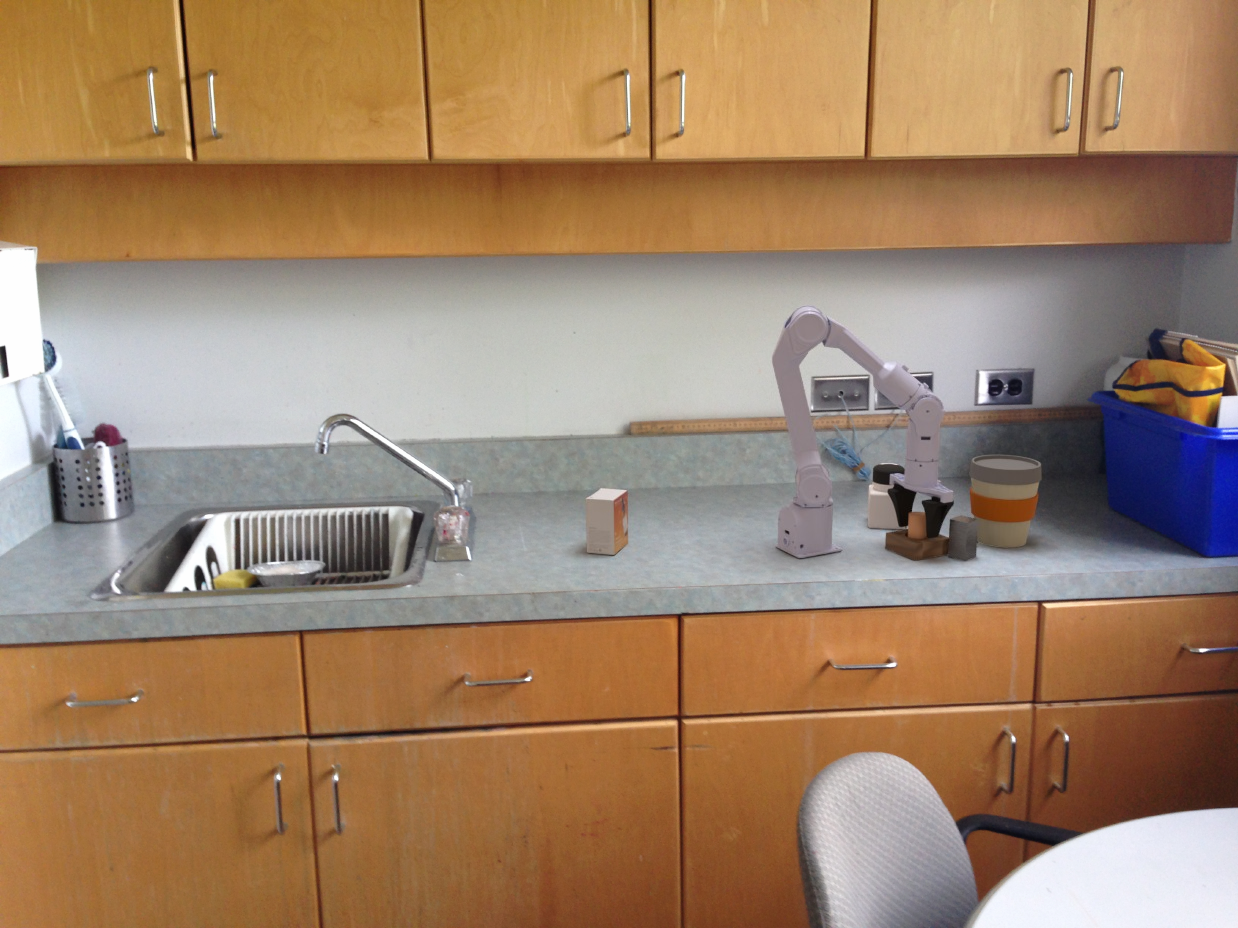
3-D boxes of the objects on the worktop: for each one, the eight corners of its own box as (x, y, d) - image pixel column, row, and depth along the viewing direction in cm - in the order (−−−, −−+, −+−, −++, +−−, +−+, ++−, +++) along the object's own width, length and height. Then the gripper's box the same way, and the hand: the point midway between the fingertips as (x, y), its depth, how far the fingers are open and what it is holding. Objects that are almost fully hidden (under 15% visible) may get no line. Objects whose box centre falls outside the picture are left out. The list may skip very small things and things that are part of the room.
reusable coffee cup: (997, 554, 186) (1002, 473, 182) (950, 535, 197) (955, 458, 193) (1051, 545, 190) (1058, 465, 186) (1003, 526, 201) (1008, 451, 198)
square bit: (965, 561, 182) (967, 523, 181) (947, 556, 185) (949, 518, 183) (976, 556, 184) (978, 519, 183) (958, 552, 187) (961, 515, 185)
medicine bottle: (906, 530, 200) (909, 470, 198) (868, 528, 202) (870, 468, 199) (903, 519, 207) (906, 461, 204) (867, 518, 209) (869, 460, 206)
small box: (614, 556, 188) (613, 500, 186) (586, 553, 190) (584, 498, 188) (629, 543, 195) (628, 489, 193) (601, 540, 197) (600, 487, 195)
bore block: (914, 560, 183) (915, 544, 182) (885, 548, 190) (885, 532, 189) (949, 554, 186) (950, 538, 185) (919, 541, 193) (920, 526, 192)
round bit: (916, 555, 186) (918, 518, 184) (902, 550, 189) (904, 513, 187) (931, 552, 187) (933, 515, 185) (917, 547, 190) (919, 510, 189)
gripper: (968, 464, 179) (963, 539, 182) (912, 448, 192) (908, 518, 195) (936, 469, 176) (932, 545, 179) (881, 452, 189) (878, 523, 192)
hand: (918, 531), depth 187 cm, fingers open, 7 cm apart
